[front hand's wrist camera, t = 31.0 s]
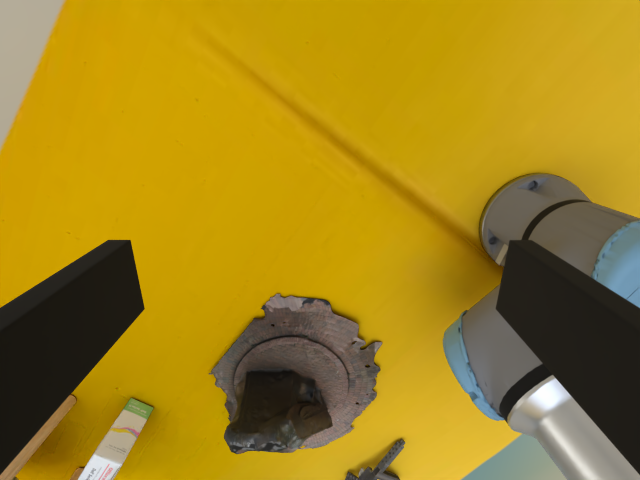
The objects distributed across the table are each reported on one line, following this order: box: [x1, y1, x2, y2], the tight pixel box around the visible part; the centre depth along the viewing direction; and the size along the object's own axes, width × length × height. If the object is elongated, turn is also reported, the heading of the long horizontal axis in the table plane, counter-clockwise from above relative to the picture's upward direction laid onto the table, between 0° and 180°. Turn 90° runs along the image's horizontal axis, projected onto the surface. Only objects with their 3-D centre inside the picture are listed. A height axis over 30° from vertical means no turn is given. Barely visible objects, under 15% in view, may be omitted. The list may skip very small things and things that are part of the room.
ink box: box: [78, 398, 153, 480], centre depth 61 cm, size 9×5×15 cm, turn 146°
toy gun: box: [345, 439, 405, 480], centre depth 72 cm, size 17×8×10 cm
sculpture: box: [209, 294, 382, 454], centre depth 58 cm, size 33×35×16 cm
